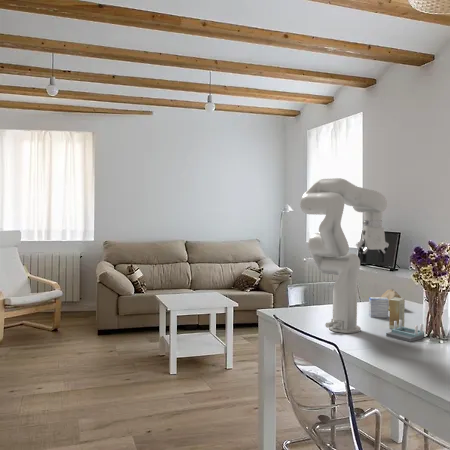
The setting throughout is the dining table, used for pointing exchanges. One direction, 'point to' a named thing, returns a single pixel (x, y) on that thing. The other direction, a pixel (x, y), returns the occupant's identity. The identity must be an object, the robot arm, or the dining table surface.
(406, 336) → the pin tray
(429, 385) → the dining table surface
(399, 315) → the skincare box
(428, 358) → the dining table surface
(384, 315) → the medicine box
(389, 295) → the ceramic model
